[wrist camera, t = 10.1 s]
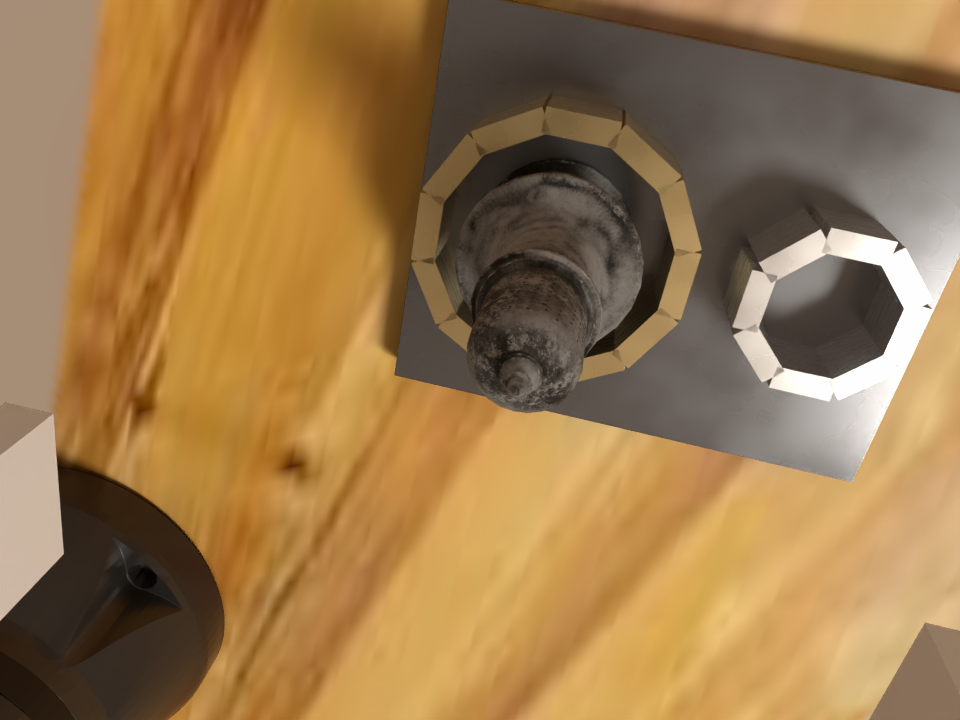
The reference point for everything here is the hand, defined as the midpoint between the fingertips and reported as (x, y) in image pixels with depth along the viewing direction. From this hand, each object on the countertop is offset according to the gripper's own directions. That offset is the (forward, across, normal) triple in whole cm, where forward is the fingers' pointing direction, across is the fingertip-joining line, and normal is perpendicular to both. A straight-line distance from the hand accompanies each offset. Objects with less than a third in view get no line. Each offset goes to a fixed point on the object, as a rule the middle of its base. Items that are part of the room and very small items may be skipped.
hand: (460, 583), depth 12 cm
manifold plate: (+19, +4, 0) cm, 20 cm away
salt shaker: (+18, 0, 0) cm, 18 cm away
